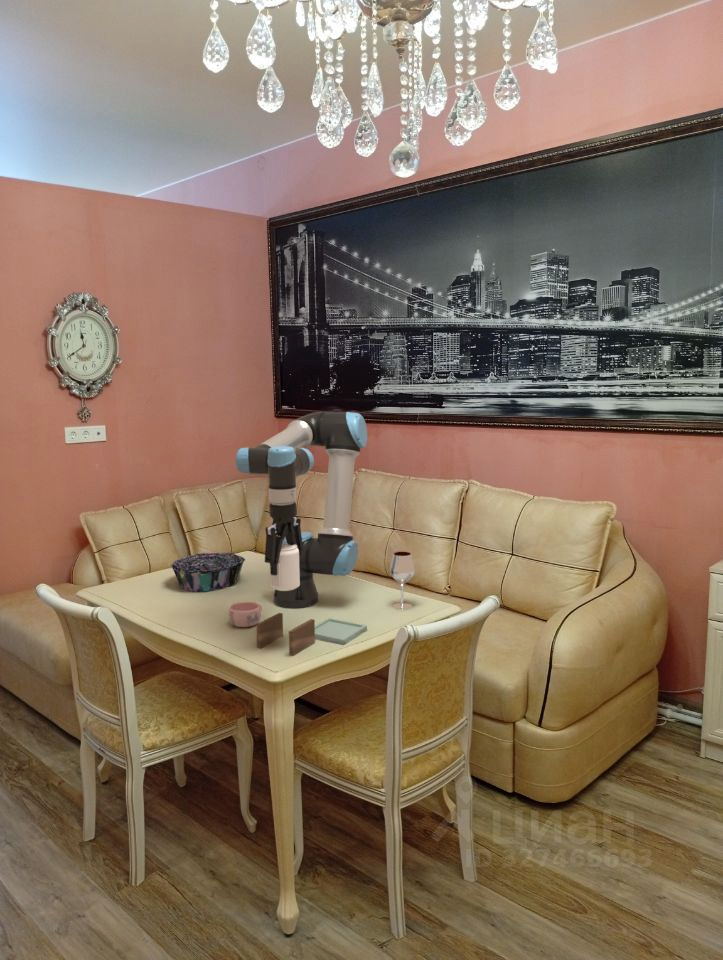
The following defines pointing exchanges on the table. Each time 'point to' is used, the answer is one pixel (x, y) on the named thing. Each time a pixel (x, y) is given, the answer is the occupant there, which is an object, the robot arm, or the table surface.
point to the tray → (338, 631)
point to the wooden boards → (297, 636)
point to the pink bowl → (244, 613)
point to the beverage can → (289, 568)
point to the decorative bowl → (207, 571)
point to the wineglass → (402, 574)
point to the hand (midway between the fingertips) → (285, 581)
